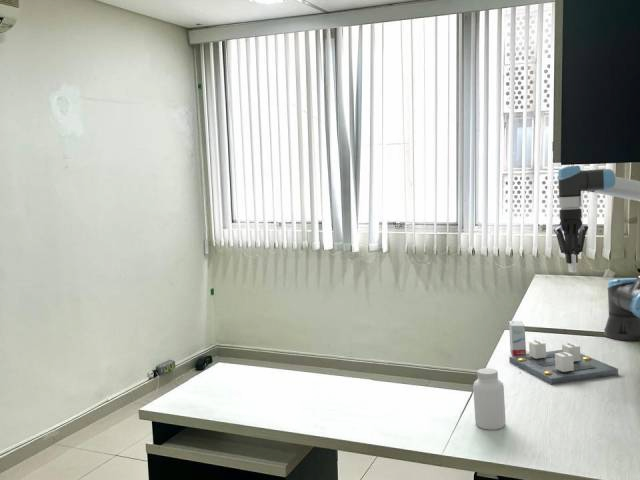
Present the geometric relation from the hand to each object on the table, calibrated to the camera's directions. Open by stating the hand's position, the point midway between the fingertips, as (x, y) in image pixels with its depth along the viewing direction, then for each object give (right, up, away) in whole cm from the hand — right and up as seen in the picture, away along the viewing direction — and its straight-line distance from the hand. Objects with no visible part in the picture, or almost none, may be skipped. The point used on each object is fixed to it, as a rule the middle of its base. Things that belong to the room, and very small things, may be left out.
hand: (572, 271), depth 223 cm
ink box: (-19, -31, +2) cm, 37 cm away
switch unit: (-11, -32, -17) cm, 38 cm away
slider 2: (-7, -29, -17) cm, 34 cm away
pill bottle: (-47, -39, -59) cm, 85 cm away
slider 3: (-13, -30, -26) cm, 42 cm away
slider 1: (-17, -29, -11) cm, 35 cm away
